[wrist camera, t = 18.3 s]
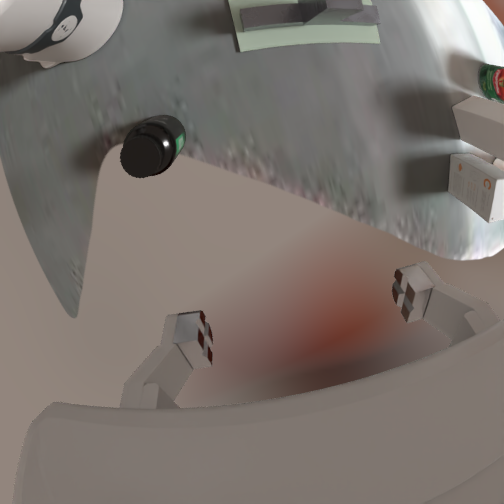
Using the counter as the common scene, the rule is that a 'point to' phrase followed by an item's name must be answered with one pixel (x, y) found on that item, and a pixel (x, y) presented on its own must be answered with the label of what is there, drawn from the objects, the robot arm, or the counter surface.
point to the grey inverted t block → (309, 14)
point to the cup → (499, 164)
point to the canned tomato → (492, 82)
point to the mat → (297, 30)
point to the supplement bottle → (152, 146)
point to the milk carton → (481, 124)
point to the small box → (477, 185)
